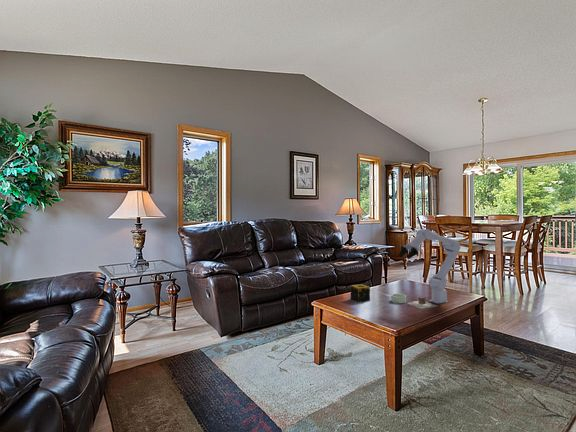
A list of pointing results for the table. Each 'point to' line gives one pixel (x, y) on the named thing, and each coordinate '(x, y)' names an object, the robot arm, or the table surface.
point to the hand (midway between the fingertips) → (403, 257)
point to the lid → (422, 303)
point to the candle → (360, 293)
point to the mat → (421, 307)
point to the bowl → (398, 298)
